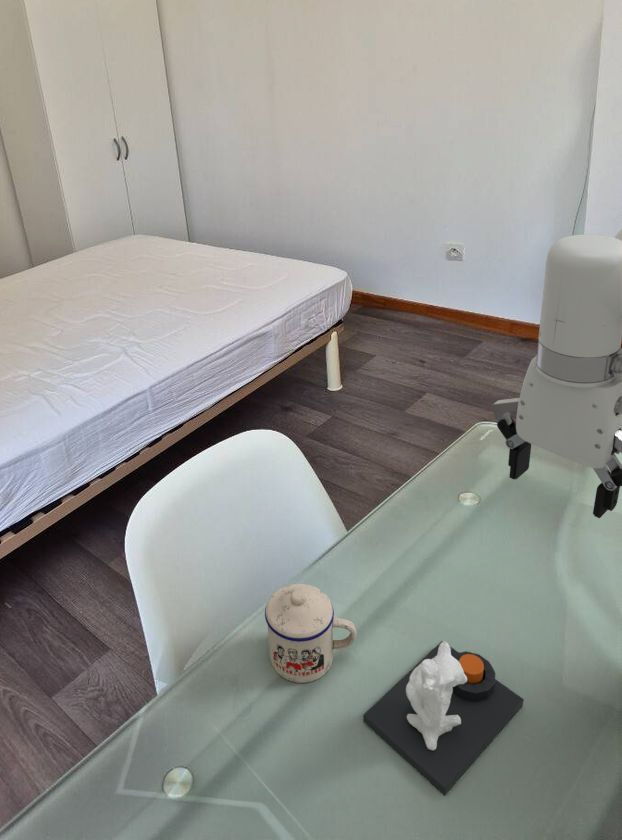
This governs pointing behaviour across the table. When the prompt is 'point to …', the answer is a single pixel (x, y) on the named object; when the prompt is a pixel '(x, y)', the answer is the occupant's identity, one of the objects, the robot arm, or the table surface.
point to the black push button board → (459, 748)
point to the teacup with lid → (303, 632)
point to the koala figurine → (434, 694)
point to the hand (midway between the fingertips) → (558, 491)
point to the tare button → (472, 668)
